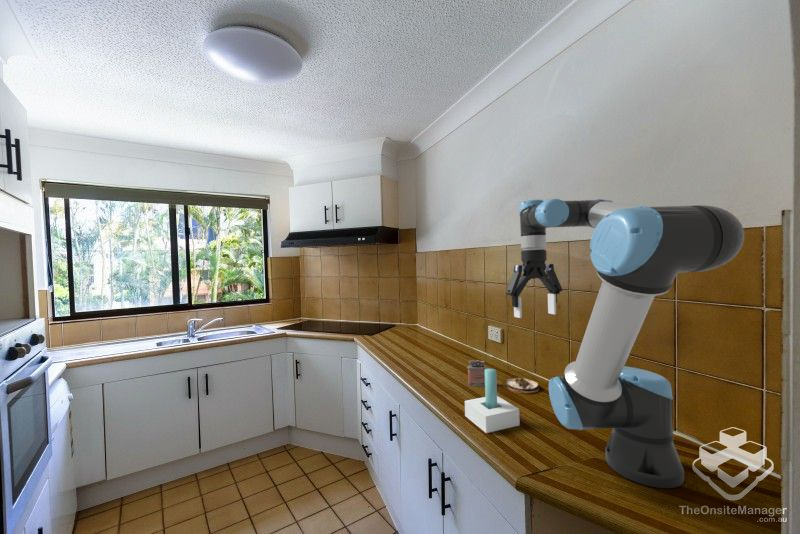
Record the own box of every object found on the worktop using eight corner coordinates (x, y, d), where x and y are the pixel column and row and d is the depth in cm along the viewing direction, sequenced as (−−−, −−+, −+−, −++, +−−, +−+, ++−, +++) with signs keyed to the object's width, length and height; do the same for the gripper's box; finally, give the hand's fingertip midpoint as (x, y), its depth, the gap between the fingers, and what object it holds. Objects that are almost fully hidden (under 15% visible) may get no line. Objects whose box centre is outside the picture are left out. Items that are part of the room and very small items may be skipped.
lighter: (487, 383, 137) (486, 359, 137) (488, 386, 134) (487, 361, 134) (467, 383, 138) (466, 359, 138) (468, 386, 134) (467, 361, 134)
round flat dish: (551, 392, 127) (551, 381, 126) (520, 399, 121) (519, 388, 121) (524, 379, 140) (524, 370, 140) (495, 385, 135) (494, 375, 135)
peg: (500, 421, 104) (498, 371, 104) (490, 423, 103) (488, 372, 103) (493, 416, 107) (491, 367, 107) (483, 418, 106) (482, 369, 106)
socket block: (519, 425, 101) (519, 409, 101) (486, 433, 97) (485, 416, 97) (495, 409, 113) (495, 394, 113) (465, 415, 109) (464, 400, 109)
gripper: (555, 249, 113) (556, 310, 114) (493, 250, 105) (495, 317, 105) (573, 248, 106) (574, 313, 106) (508, 249, 98) (510, 320, 98)
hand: (535, 315), depth 106 cm, fingers open, 13 cm apart
